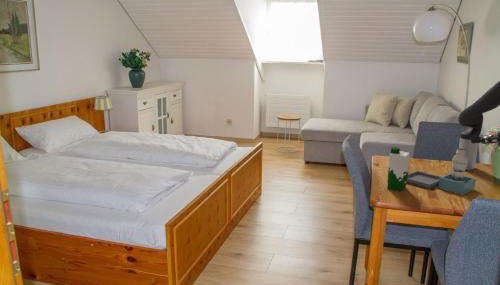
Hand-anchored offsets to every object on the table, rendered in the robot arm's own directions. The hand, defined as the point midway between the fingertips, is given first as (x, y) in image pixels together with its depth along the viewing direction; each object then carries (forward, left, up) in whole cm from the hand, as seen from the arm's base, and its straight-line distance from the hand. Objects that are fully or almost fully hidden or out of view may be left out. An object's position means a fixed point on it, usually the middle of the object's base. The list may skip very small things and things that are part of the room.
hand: (470, 139), depth 208 cm
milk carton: (+28, -20, -24) cm, 42 cm away
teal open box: (+6, -1, -24) cm, 25 cm away
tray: (+9, -17, -24) cm, 31 cm away
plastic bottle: (+6, -1, -24) cm, 25 cm away
